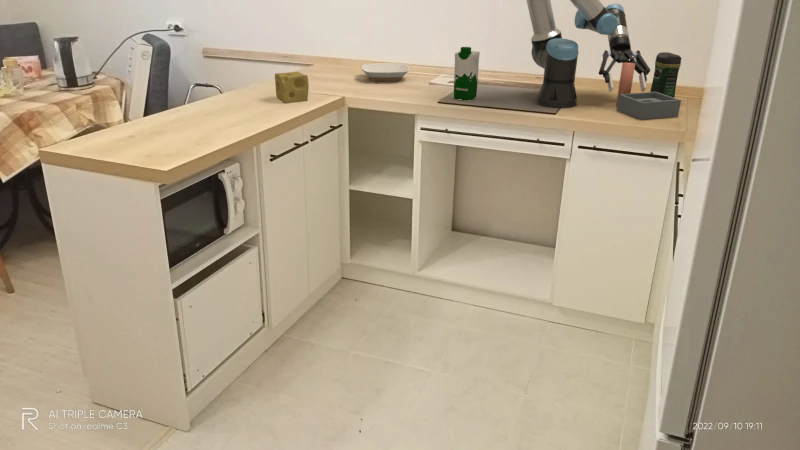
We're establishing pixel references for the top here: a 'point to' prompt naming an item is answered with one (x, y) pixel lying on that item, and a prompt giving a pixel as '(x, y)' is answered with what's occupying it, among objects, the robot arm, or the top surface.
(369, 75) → the bowl
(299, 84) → the cheese
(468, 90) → the milk carton
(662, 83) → the coffee jar
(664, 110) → the box
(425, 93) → the top surface
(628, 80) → the peg
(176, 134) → the top surface
